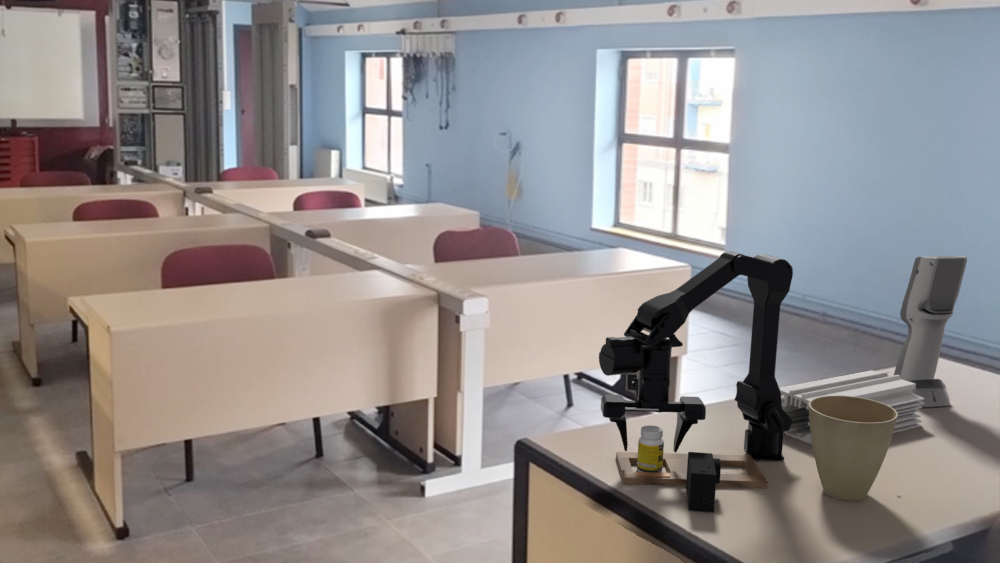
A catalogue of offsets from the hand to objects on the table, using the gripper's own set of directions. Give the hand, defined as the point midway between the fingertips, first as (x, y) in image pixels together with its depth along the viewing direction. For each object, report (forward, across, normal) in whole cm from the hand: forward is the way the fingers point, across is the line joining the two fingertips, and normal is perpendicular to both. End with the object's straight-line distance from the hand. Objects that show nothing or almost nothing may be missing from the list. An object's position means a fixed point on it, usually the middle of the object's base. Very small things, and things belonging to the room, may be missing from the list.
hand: (650, 450), depth 188 cm
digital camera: (+4, -8, +13) cm, 15 cm away
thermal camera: (+4, -70, -50) cm, 86 cm away
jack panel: (+4, -8, 0) cm, 8 cm away
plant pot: (+4, -34, +8) cm, 35 cm away
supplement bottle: (+4, 0, 0) cm, 4 cm away
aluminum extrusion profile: (+5, -46, -28) cm, 55 cm away
